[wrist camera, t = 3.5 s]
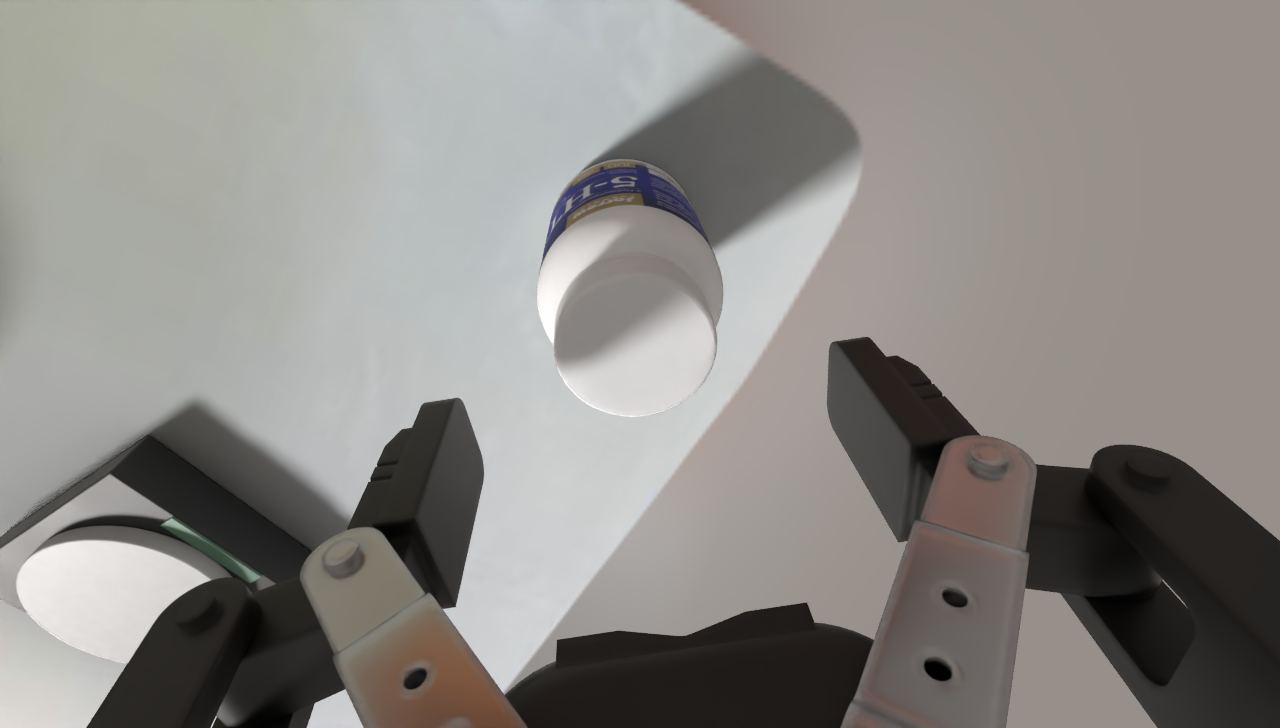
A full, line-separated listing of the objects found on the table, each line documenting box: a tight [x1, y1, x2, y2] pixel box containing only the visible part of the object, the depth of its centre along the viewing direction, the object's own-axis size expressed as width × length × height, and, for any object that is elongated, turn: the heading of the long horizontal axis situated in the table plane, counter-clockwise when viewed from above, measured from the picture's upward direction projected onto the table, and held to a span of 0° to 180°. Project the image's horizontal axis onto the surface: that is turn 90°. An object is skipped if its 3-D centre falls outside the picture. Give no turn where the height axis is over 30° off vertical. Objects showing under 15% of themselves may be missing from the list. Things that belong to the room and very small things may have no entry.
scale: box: [0, 436, 312, 664], centre depth 27 cm, size 10×10×3 cm
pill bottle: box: [537, 159, 723, 417], centre depth 18 cm, size 5×5×9 cm
